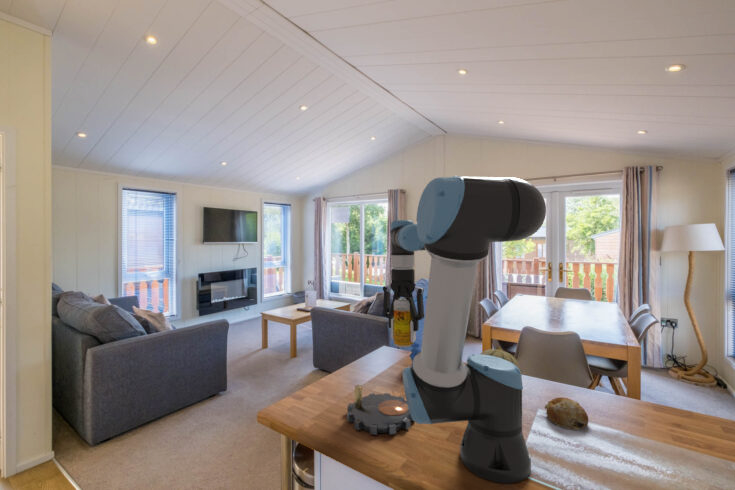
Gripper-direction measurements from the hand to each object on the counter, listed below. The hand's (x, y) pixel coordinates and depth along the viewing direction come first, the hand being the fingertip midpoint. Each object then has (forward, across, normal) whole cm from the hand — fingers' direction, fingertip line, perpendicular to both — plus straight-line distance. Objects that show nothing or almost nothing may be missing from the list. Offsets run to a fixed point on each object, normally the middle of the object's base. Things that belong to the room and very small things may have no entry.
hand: (403, 339), depth 110 cm
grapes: (+19, +3, -22) cm, 29 cm away
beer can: (+2, 0, 0) cm, 2 cm away
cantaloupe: (+19, -26, -16) cm, 36 cm away
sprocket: (+19, +1, +15) cm, 24 cm away
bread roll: (+19, -45, -8) cm, 50 cm away
